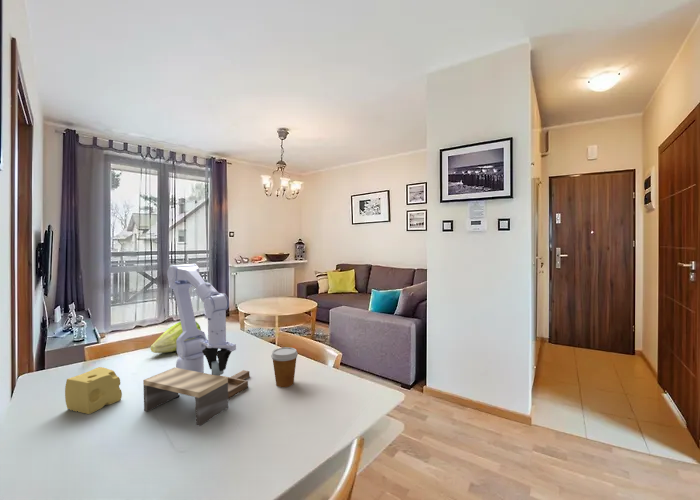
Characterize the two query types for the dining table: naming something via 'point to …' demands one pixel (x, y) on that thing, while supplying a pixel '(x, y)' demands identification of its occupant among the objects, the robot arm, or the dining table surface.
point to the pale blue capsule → (216, 368)
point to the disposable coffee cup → (284, 366)
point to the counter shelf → (188, 391)
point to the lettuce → (169, 339)
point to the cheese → (92, 390)
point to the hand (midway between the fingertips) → (217, 369)
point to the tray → (237, 383)
